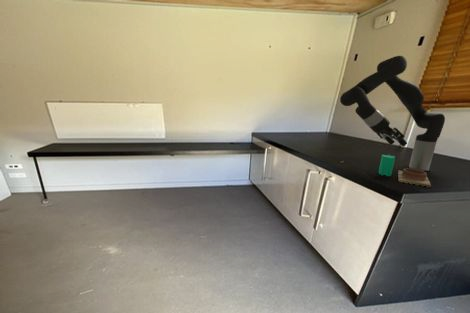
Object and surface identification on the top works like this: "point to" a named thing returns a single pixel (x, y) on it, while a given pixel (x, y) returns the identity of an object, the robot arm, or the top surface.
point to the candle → (386, 165)
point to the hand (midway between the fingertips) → (398, 144)
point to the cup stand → (414, 177)
